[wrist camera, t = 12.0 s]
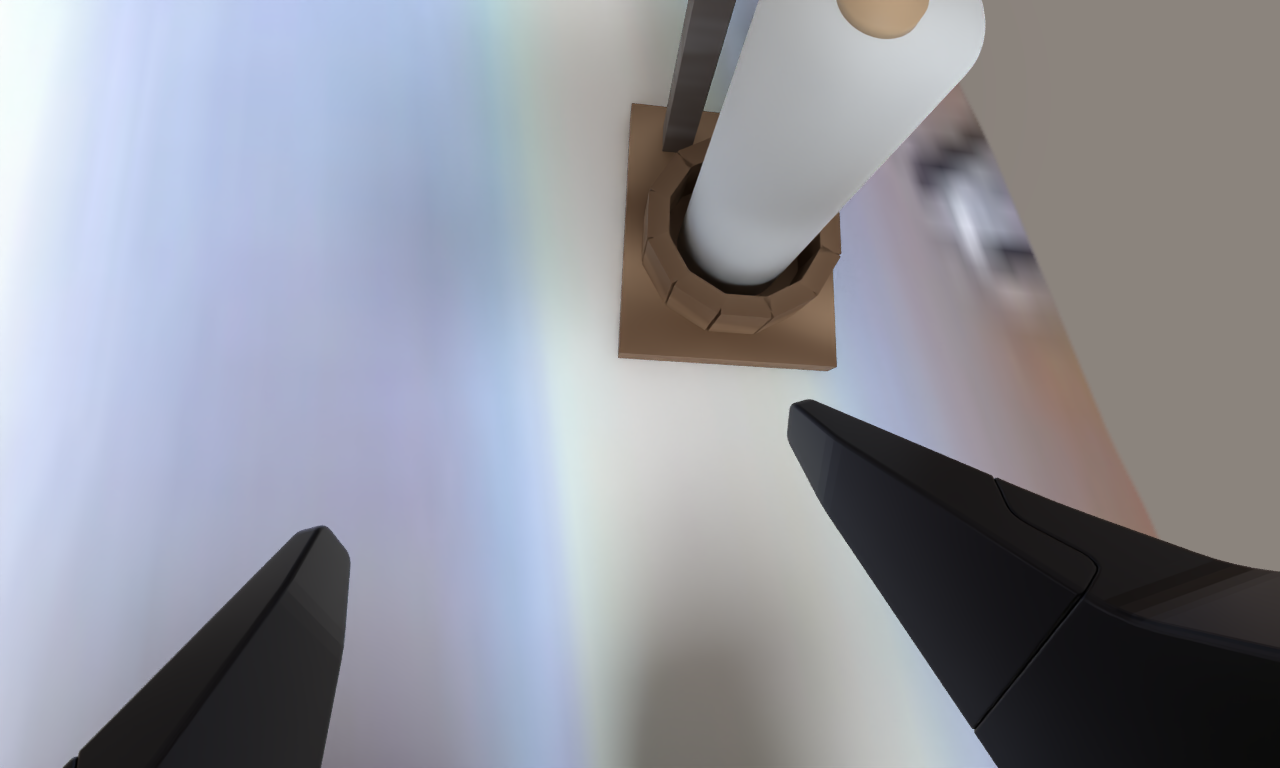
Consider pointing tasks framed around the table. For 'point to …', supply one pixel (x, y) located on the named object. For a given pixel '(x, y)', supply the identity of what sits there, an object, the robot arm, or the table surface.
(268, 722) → the robot arm
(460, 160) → the table surface
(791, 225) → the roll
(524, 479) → the table surface
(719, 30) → the stand
